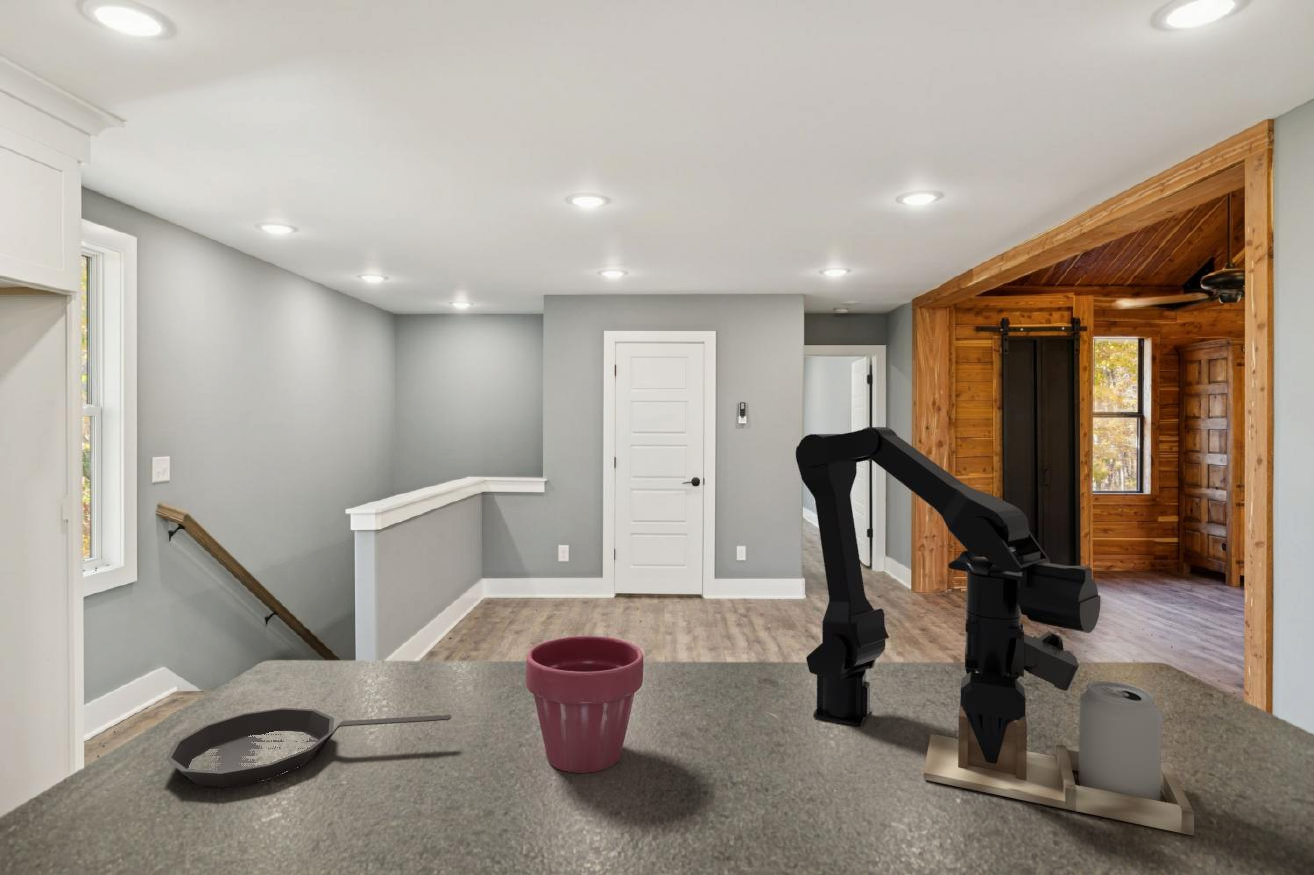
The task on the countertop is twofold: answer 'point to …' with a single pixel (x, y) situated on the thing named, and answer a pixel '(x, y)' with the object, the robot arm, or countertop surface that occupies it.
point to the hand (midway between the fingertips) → (991, 745)
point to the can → (1120, 740)
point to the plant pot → (584, 698)
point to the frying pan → (236, 742)
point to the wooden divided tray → (1048, 779)
